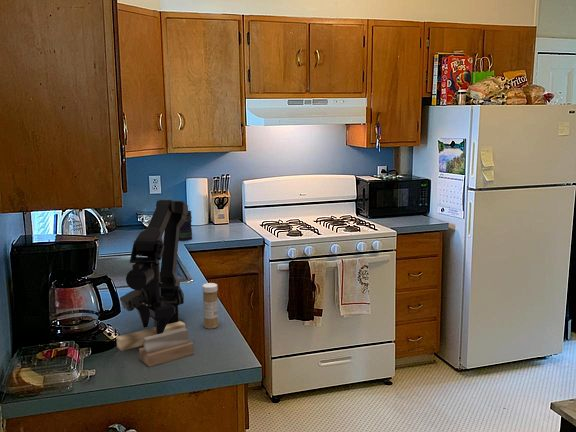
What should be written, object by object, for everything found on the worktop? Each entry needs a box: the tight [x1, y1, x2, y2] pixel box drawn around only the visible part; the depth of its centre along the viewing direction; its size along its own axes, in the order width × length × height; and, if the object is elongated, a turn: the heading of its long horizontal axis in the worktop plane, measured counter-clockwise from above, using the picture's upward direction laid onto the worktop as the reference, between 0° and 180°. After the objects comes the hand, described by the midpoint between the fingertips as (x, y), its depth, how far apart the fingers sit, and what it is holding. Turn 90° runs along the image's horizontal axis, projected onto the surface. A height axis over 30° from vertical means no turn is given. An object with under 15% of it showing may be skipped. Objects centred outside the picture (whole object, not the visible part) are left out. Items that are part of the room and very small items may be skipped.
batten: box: [116, 321, 187, 352], centre depth 164 cm, size 20×3×4 cm, turn 128°
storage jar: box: [178, 210, 193, 242], centre depth 302 cm, size 10×10×15 cm
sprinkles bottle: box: [201, 282, 219, 330], centre depth 174 cm, size 5×5×13 cm
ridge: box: [138, 328, 195, 368], centre depth 152 cm, size 6×13×6 cm, turn 129°
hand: (152, 331), depth 164 cm, fingers open, 9 cm apart
